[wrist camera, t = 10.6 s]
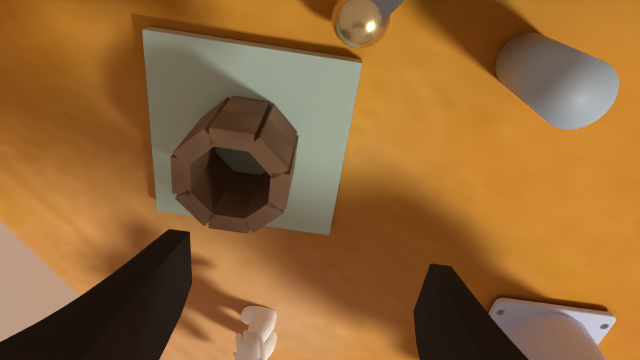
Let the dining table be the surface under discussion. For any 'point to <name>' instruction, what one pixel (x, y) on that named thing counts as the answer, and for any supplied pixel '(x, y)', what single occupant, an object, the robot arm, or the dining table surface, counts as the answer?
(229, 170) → the napkin ring
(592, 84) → the post inner
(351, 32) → the rail
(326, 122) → the pad
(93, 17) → the dining table surface
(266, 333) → the hat wearing toy figure
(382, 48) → the dining table surface
